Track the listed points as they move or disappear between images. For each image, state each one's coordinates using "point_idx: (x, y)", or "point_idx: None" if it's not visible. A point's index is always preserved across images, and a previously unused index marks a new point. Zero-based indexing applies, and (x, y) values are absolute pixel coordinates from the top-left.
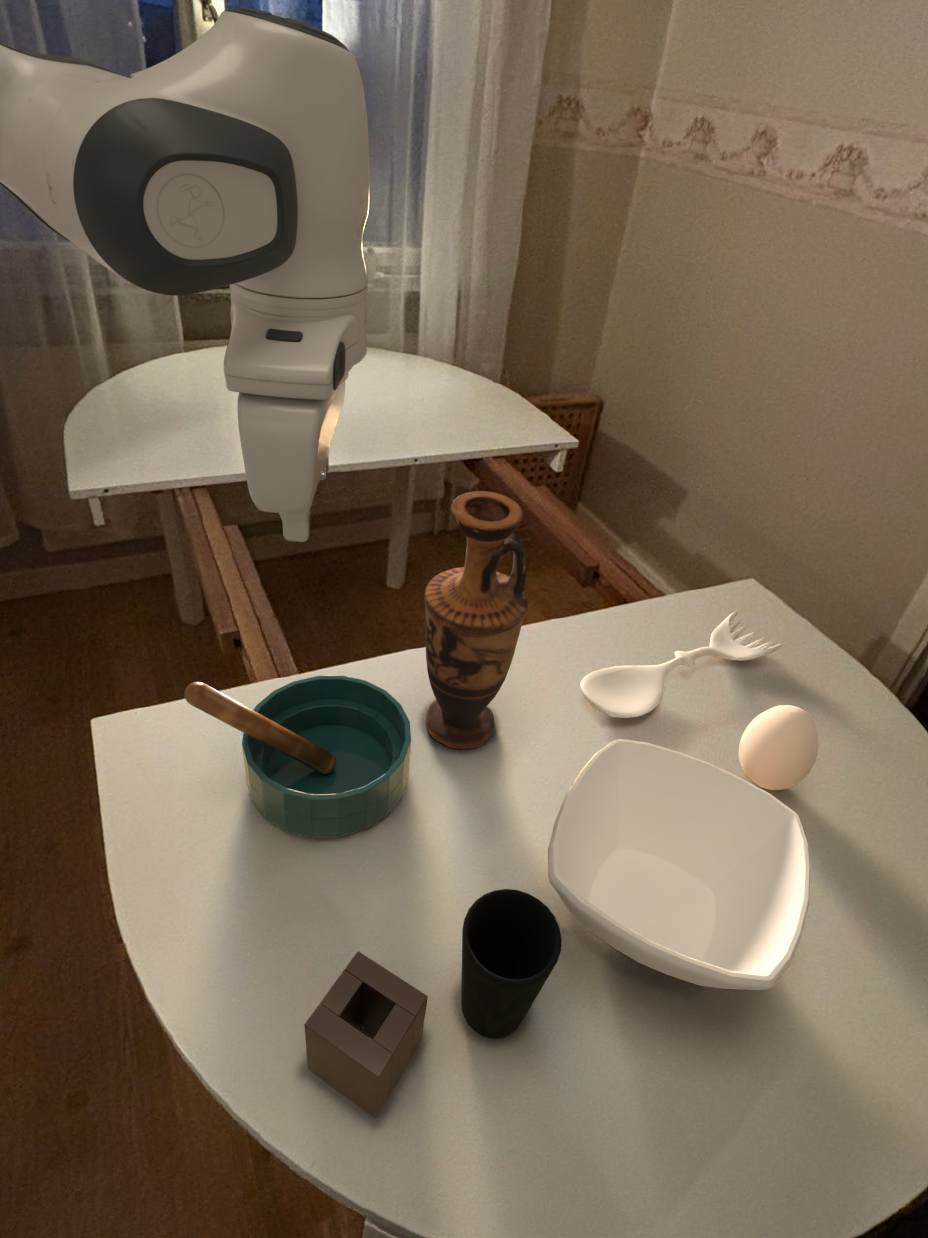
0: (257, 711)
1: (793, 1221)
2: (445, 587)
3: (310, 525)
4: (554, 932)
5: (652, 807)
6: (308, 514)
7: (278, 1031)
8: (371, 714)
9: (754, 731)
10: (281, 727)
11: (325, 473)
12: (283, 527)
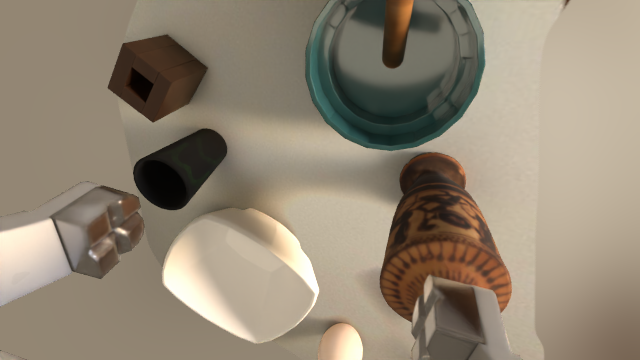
0: None
1: (146, 228)
2: (459, 268)
3: (129, 248)
4: (168, 206)
5: (298, 276)
6: (52, 280)
7: (184, 14)
8: (434, 111)
9: (341, 354)
10: (400, 17)
11: (412, 333)
12: (54, 198)
